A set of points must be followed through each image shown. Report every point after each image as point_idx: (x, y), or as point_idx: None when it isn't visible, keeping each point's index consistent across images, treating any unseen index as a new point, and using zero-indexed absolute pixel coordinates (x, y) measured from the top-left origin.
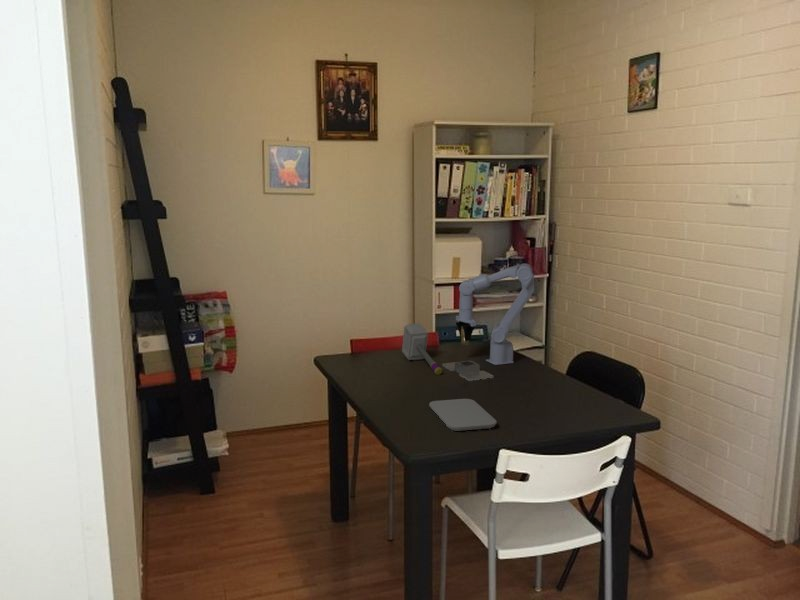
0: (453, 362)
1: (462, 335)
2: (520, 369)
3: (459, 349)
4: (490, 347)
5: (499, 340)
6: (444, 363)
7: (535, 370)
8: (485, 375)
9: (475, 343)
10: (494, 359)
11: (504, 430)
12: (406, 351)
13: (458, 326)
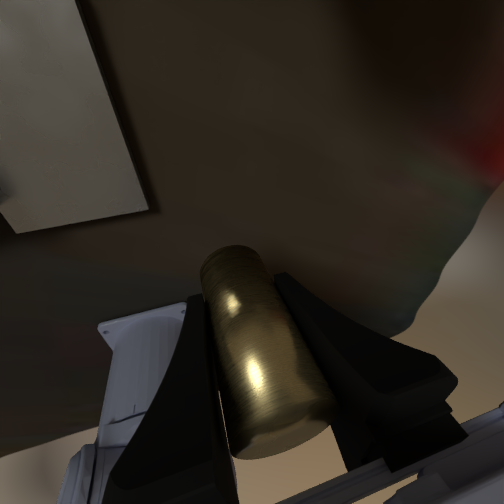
0: (111, 114)
1: (234, 309)
2: (31, 389)
3: (386, 241)
4: (154, 377)
5: (65, 481)
6: (70, 4)
7: (22, 421)
8: None
9: (409, 302)
10: (122, 340)
11: None
12: None
13: (356, 358)
